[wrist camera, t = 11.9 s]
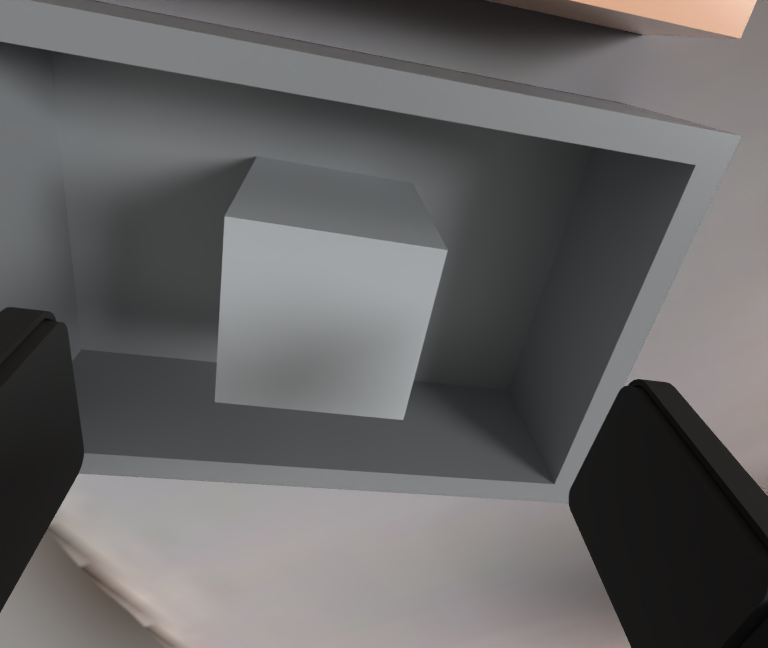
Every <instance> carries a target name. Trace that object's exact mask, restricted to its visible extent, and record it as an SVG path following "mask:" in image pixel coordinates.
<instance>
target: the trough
mask: <svg viewBox="0 0 768 648" xmlns="http://www.w3.org/2000/svg"><path fill="white" fill-rule="evenodd" d="M487 1H491V2H496V3H500V4H505V5H510V6H514V7H519V8H523V9H528V10H533V11H537V12H542V13H546V14H551V15H555V16H560V17H565V18H569V19H574V20H578V21H583V22H588V23H592V24H597V25H601V26H606V27H611V28H615V29H620V30H624V31H629V32H633V33H638V34H643V35H660V36H687V37H714V38H741V36H742V34H743V31H744V29H745V27H746V24H747V22H748V20H749V17H750V15H751V13H752V11H753V8H754V6H755V4H756V1H757V0H487Z"/></svg>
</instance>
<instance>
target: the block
mask: <svg viewBox="0 0 768 648" xmlns="http://www.w3.org/2000/svg"><path fill="white" fill-rule="evenodd" d="M447 252H448V250H447V248H446V246H445V244H444V242H443V240H442V238H441V236H440V234H439V232H438V230H437V229H436V227H435V225H434V223H433V221H432V219H431V217H430V215H429V213H428V211H427V209H426V208H425V206H424V204H423V202H422V200H421V198H420V196H419V194H418V192H417V190H416V188H415V186H414V185H413V183H410V182H404V181H399V180H393V179H387V178H381V177H375V176H370V175H364V174H358V173H352V172H346V171H340V170H335V169H329V168H323V167H317V166H311V165H306V164H300V163H294V162H288V161H282V160H277V159H271V158H265V157H259V156H257V157H256V159H255V161H254V163H253V165H252V167H251V168H250V170H249V172H248V174H247V176H246V178H245V179H244V181H243V183H242V185H241V187H240V189H239V191H238V192H237V194H236V196H235V198H234V200H233V202H232V203H231V205H230V207H229V209H228V211H227V213H226V215H225V218H224V237H223V256H222V275H221V294H220V312H219V331H218V350H217V369H216V388H215V402H219V403H229V404H240V405H250V406H261V407H271V408H282V409H292V410H303V411H313V412H324V413H334V414H345V415H355V416H366V417H376V418H387V419H397V420H403V419H404V415H405V412H406V408H407V404H408V400H409V396H410V393H411V389H412V385H413V381H414V377H415V374H416V370H417V366H418V362H419V358H420V354H421V351H422V347H423V343H424V339H425V335H426V332H427V328H428V324H429V320H430V316H431V313H432V309H433V305H434V301H435V297H436V293H437V290H438V286H439V282H440V278H441V274H442V271H443V267H444V263H445V259H446V255H447Z"/></svg>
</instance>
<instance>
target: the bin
mask: <svg viewBox="0 0 768 648" xmlns="http://www.w3.org/2000/svg"><path fill="white" fill-rule="evenodd" d="M740 138H741V136H740V135H736V134H733V133H729V132H725V131H722V130H718V129H714V128H711V127H707V126H703V125H700V124H696V123H692V122H689V121H685V120H681V119H678V118H674V117H670V116H667V115H663V114H660V113H656V112H652V111H649V110H645V109H641V108H638V107H634V106H630V105H627V104H623V103H619V102H614V101H609V100H603V99H598V98H593V97H588V96H583V95H578V94H572V93H567V92H562V91H557V90H552V89H547V88H541V87H536V86H531V85H526V84H521V83H516V82H511V81H505V80H500V79H495V78H490V77H485V76H480V75H474V74H469V73H464V72H459V71H454V70H449V69H443V68H438V67H433V66H428V65H423V64H418V63H413V62H407V61H402V60H397V59H392V58H387V57H382V56H376V55H371V54H366V53H361V52H356V51H351V50H345V49H340V48H335V47H330V46H325V45H320V44H315V43H309V42H304V41H299V40H294V39H289V38H284V37H278V36H273V35H268V34H263V33H258V32H253V31H247V30H242V29H237V28H232V27H227V26H222V25H216V24H211V23H206V22H201V21H196V20H191V19H186V18H180V17H175V16H170V15H165V14H160V13H155V12H149V11H144V10H139V9H134V8H129V7H124V6H118V5H113V4H108V3H103V2H98V1H93V0H0V312H1V311H2V310H3V309H5V308H7V307H17V308H25V309H34V310H43V311H50V312H51V313H53V315H54V316H55V318H56V321H57V322H63V323H65V325H66V326H67V330H68V335H69V343H70V350H71V357H72V364H73V372H74V379H75V386H76V394H77V401H78V408H79V415H80V423H81V430H82V437H83V444H84V459H83V463H82V466H81V469H80V471H79V473H81V474H97V475H114V476H130V477H147V478H163V479H180V480H196V481H213V482H229V483H246V484H262V485H279V486H295V487H312V488H328V489H345V490H361V491H378V492H395V493H411V494H428V495H444V496H461V497H477V498H494V499H510V500H527V501H543V502H560V503H569V491H570V488H571V486H572V484H573V482H574V480H575V478H576V476H577V474H578V472H579V470H580V468H581V466H582V464H583V462H584V460H585V458H586V456H587V454H588V452H589V450H590V448H591V446H592V444H593V442H594V440H595V438H596V436H597V434H598V432H599V430H600V428H601V426H602V424H603V422H604V420H605V418H606V416H607V414H608V412H609V410H610V408H611V406H612V404H613V402H614V400H615V398H616V396H617V394H618V392H619V391H620V389H621V388H623V387H624V385H625V383H626V381H627V379H628V377H629V374H630V372H631V370H632V368H633V366H634V364H635V362H636V360H637V357H638V355H639V353H640V351H641V349H642V347H643V345H644V343H645V340H646V338H647V336H648V334H649V332H650V330H651V328H652V326H653V323H654V321H655V319H656V317H657V315H658V313H659V311H660V309H661V306H662V304H663V302H664V300H665V298H666V296H667V294H668V292H669V289H670V287H671V285H672V283H673V281H674V279H675V277H676V275H677V272H678V270H679V268H680V266H681V264H682V262H683V260H684V258H685V255H686V253H687V251H688V249H689V247H690V245H691V243H692V240H693V238H694V236H695V234H696V232H697V230H698V228H699V226H700V223H701V221H702V219H703V217H704V215H705V213H706V211H707V209H708V206H709V204H710V202H711V200H712V198H713V196H714V194H715V192H716V189H717V187H718V185H719V183H720V181H721V179H722V177H723V175H724V172H725V170H726V168H727V166H728V164H729V162H730V160H731V158H732V155H733V153H734V151H735V149H736V147H737V145H738V143H739V141H740ZM257 156H259V157H265V158H271V159H277V160H282V161H288V162H294V163H300V164H306V165H311V166H317V167H323V168H329V169H335V170H340V171H346V172H352V173H358V174H364V175H370V176H375V177H381V178H387V179H393V180H399V181H404V182H410V183H413V185H414V186H415V188H416V190H417V192H418V194H419V196H420V198H421V200H422V202H423V204H424V206H425V208H426V209H427V211H428V213H429V215H430V217H431V219H432V221H433V223H434V225H435V227H436V229H437V230H438V232H439V234H440V236H441V238H442V240H443V242H444V244H445V246H446V248H447V250H448V252H447V255H446V259H445V263H444V267H443V271H442V274H441V278H440V282H439V286H438V290H437V293H436V297H435V301H434V305H433V309H432V313H431V316H430V320H429V324H428V328H427V332H426V335H425V339H424V343H423V347H422V351H421V354H420V358H419V362H418V366H417V370H416V374H415V377H414V381H413V385H412V389H411V393H410V396H409V400H408V404H407V408H406V412H405V415H404V419H403V420H397V419H387V418H376V417H366V416H355V415H345V414H334V413H324V412H313V411H303V410H292V409H282V408H271V407H261V406H250V405H240V404H229V403H219V402H215V388H216V369H217V350H218V331H219V312H220V294H221V275H222V256H223V237H224V218H225V215H226V213H227V211H228V209H229V207H230V205H231V203H232V202H233V200H234V198H235V196H236V194H237V192H238V191H239V189H240V187H241V185H242V183H243V181H244V179H245V178H246V176H247V174H248V172H249V170H250V168H251V167H252V165H253V163H254V161H255V159H256V157H257Z"/></svg>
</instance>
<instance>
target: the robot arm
mask: <svg viewBox="0 0 768 648" xmlns="http://www.w3.org/2000/svg"><path fill="white" fill-rule="evenodd" d="M83 459H84V444H83V437H82V430H81V423H80V415H79V408H78V401H77V394H76V386H75V379H74V372H73V364H72V357H71V350H70V343H69V335H68V330H67V326H66V325H65V323H63V322H57V321H56V318H55V316H54V315H53V313H51V312H50V311H43V310H34V309H25V308H17V307H7V308H5V309H3V310H2V311H1V312H0V612H1V610H2V609H3V607H4V605H5V603H6V601H7V599H8V598H9V596H10V594H11V593H12V591H13V589H14V587H15V585H16V584H17V582H18V580H19V578H20V576H21V575H22V573H23V571H24V569H25V568H26V566H27V564H28V562H29V561H30V559H31V557H32V555H33V554H34V552H35V550H36V548H37V546H38V545H39V543H40V541H41V539H42V538H43V535H44V534H45V532H46V530H47V529H48V527H49V525H50V523H51V522H52V520H53V518H54V516H55V514H56V513H57V511H58V509H59V507H60V506H61V504H62V502H63V500H64V498H65V497H66V495H67V493H68V491H69V490H70V488H71V486H72V484H73V482H74V481H75V479H76V477H77V475H78V474H79V471H80V469H81V466H82V463H83ZM569 507H570V510H571V512H572V514H573V517H574V519H575V521H576V523H577V526H578V528H579V530H580V532H581V535H582V537H583V539H584V542H585V544H586V546H587V548H588V551H589V553H590V555H591V557H592V560H593V562H594V564H595V566H596V569H597V571H598V573H599V575H600V578H601V580H602V582H603V584H604V587H605V589H606V591H607V593H608V596H609V598H610V600H611V602H612V605H613V607H614V609H615V611H616V614H617V616H618V618H619V620H620V623H621V625H622V627H623V629H624V632H625V634H626V636H627V638H628V641H629V643H630V645H631V648H768V496H767V495H766V494H765V493H764V492H763V490H762V489H761V488H760V487H759V486H758V485H757V483H756V482H755V481H754V480H753V479H752V477H751V476H750V475H749V474H748V473H747V472H746V470H745V469H744V468H743V467H742V466H741V465H740V463H739V462H738V461H737V460H736V459H735V458H734V456H733V455H732V454H731V453H730V452H729V451H728V449H727V448H726V447H725V446H724V445H723V444H722V442H721V441H720V440H719V439H718V438H717V436H716V435H715V434H714V433H713V432H712V431H711V429H710V428H709V427H708V426H707V425H706V424H705V422H704V421H703V420H702V419H701V418H700V417H699V415H698V414H697V413H696V412H695V411H694V410H693V408H692V407H691V406H690V405H689V404H688V402H687V401H686V400H685V399H684V398H683V397H682V395H681V394H680V393H679V392H678V391H677V390H676V388H675V387H674V386H672V385H671V384H670V383H666V382H659V381H650V380H642V379H637V380H633V381H632V382H631V383H630V384H629V385H628V386H624V387H623V388H621V389H620V391H619V392H618V394H617V396H616V398H615V400H614V402H613V404H612V406H611V408H610V410H609V412H608V414H607V416H606V418H605V420H604V422H603V424H602V426H601V428H600V430H599V432H598V434H597V436H596V438H595V440H594V442H593V444H592V446H591V448H590V450H589V452H588V454H587V456H586V458H585V460H584V462H583V464H582V466H581V468H580V470H579V472H578V474H577V476H576V478H575V480H574V482H573V484H572V486H571V488H570V491H569Z"/></svg>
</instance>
